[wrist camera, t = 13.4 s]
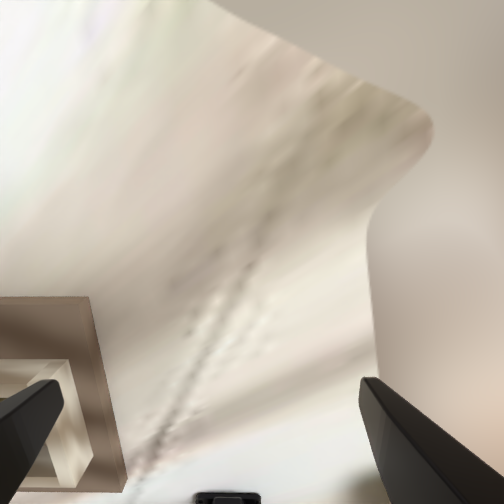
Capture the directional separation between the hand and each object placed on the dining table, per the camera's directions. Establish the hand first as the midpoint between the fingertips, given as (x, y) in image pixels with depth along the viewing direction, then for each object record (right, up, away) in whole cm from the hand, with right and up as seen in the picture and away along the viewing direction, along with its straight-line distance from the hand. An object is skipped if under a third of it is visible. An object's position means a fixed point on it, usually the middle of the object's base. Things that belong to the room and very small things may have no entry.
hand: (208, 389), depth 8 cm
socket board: (-18, -9, +16) cm, 26 cm away
